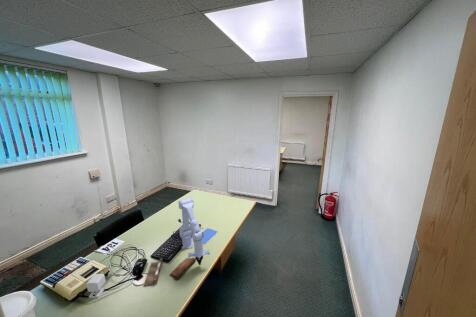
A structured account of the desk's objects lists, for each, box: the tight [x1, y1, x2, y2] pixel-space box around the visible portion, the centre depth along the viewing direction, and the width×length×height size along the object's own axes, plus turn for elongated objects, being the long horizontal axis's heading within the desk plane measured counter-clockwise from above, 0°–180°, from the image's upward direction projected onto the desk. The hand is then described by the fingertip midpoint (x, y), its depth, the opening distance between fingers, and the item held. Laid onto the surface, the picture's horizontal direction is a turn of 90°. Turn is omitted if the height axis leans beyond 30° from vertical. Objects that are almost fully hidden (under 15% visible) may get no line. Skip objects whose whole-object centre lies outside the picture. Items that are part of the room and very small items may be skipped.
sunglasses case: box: [169, 257, 197, 281], centre depth 127 cm, size 18×7×7 cm
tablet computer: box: [202, 227, 219, 246], centre depth 161 cm, size 19×13×1 cm, turn 151°
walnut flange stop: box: [143, 258, 164, 287], centre depth 123 cm, size 18×8×4 cm, turn 10°
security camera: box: [85, 273, 107, 299], centre depth 110 cm, size 6×7×10 cm
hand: (199, 263), depth 129 cm, fingers closed
